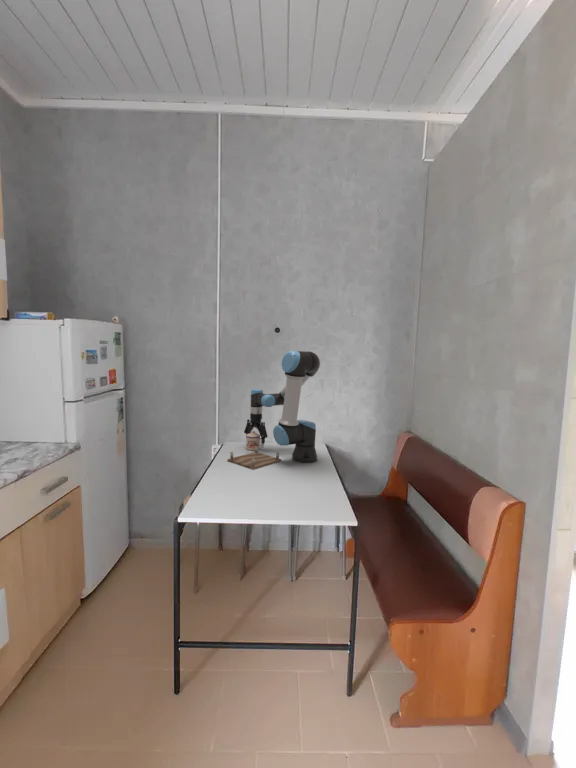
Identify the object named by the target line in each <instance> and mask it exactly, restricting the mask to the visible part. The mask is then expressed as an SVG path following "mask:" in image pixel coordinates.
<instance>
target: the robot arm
mask: <svg viewBox="0 0 576 768" xmlns="http://www.w3.org/2000/svg"><path fill="white" fill-rule="evenodd" d="M320 360H321V359H320V357H319V356H318V355H317V354H316V353H314V352H313V351H302V350H301V351H300V350H292V351H291V350H290V351H287V352H286V353H285V354H284V355H283V357H282V359H281V369H282V371H283V372H284V375H285V376H286V383H285V385H284V387H283V388H282V389H281V391H280V392H279V393H264V390H263V389H261V388H252V389H251V391H250V408H249V409H250V415H249V417H250V419H247V420H246V425H245V427H244V431H243V433H244V434H245V437H246V435H247V434H250V433H252V431H253V429H254V428H255V429H256V430H258V434H259V435H260V449H265V444H266V443H265V442H266V438H268V432H267V428H266V423H265V422H263V421H262V419H263V407H264V408H272V407H275V406H283V407H282V415H281V418H279V420H278V424H277V425H275V426H274V427H273V430H272V434H273V438H274V441H275V442H276V444H278V445H279V446H290V445H295V446H294V449H293V452H292V453H291V459H292V461H294V462H298V463H305V464H308V463H314V462H317V461H318V454H317V450H316V434H317V433H316V432H317V427H316V423H315V422H313V421H311V420H310V421H309V420H303V419H298V415H299V414H298V413H299V406H300V398H301V391H302V386H303V385H304V384H305V383H306V382H307V381H308V380H309V378H311V377H314V376H315V375H316V374H317V372H318V371H319V369H320V365H321V362H320ZM246 438H247V437H246ZM246 438H245V439H246ZM260 449H259V450H260Z"/></svg>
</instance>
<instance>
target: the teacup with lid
mask: <svg viewBox="0 0 576 768" xmlns="http://www.w3.org/2000/svg"><path fill="white" fill-rule="evenodd" d="M245 437H247V438H245V439H246V440H245V444H246V445H245V448H246V450H248V451H252V450H254V451H255V446H258V449H259V450H260V438H261V436H260V433H257V432H256V431H255V430H252V431H251V433H250V434H247V435H246V434H245Z"/></svg>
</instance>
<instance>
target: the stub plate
mask: <svg viewBox="0 0 576 768" xmlns="http://www.w3.org/2000/svg"><path fill="white" fill-rule="evenodd" d="M275 453H276V455H275V457H274V456H271V455H267V454H265V453H260V452H258V446H255V450H254V451H253V452H251V453H245V454H241V455H239V456H235V457H234V452H233V451H230V456H229V457H230V458H227V460H226V461H227V462H229V463H232V464H235V465H238V466H240V467H244V468H246V469H250V470H252V471H253V470H257V469H260V468H263V467H267V466H271V465H274V464H276V463H277V464H278V463H280V461H281V462H282V461H283V460H282V459H281V458H280V452H279V451H277V452H275ZM273 463H274V464H273Z"/></svg>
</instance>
